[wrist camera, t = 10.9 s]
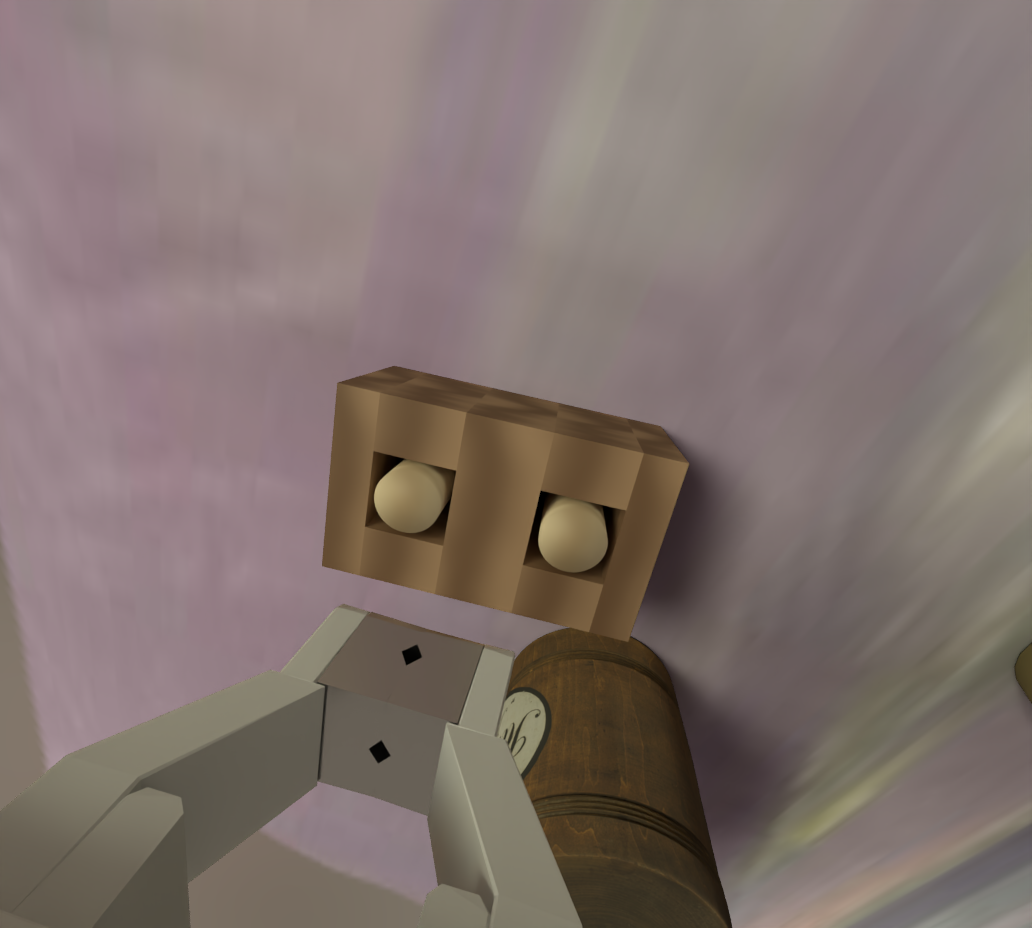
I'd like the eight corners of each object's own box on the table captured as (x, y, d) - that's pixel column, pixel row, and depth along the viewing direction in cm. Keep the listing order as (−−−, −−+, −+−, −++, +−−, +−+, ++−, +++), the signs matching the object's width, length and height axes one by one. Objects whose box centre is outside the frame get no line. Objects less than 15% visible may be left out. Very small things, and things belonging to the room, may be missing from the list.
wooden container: (496, 625, 41) (419, 944, 20) (674, 623, 39) (788, 975, 18) (513, 757, 46) (463, 1132, 25) (673, 762, 44) (765, 1174, 23)
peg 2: (606, 473, 35) (615, 519, 27) (592, 522, 36) (597, 579, 28) (552, 461, 35) (546, 502, 27) (540, 510, 36) (531, 563, 28)
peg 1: (472, 442, 35) (444, 478, 27) (463, 492, 36) (434, 539, 29) (420, 430, 35) (378, 463, 28) (412, 480, 36) (370, 524, 29)
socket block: (660, 426, 34) (689, 463, 26) (615, 568, 38) (628, 641, 30) (394, 365, 35) (337, 382, 27) (376, 510, 39) (322, 565, 31)
